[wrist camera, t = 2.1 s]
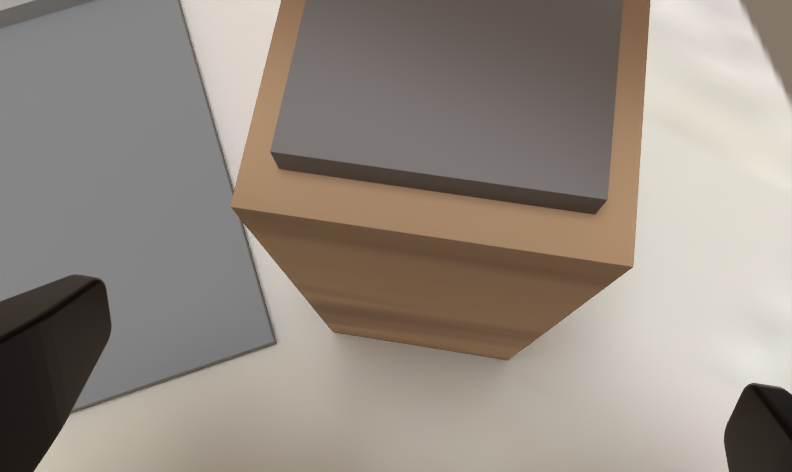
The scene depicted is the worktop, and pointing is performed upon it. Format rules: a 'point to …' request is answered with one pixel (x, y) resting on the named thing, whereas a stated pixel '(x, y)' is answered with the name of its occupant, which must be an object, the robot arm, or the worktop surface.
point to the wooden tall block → (448, 163)
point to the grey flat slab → (122, 186)
